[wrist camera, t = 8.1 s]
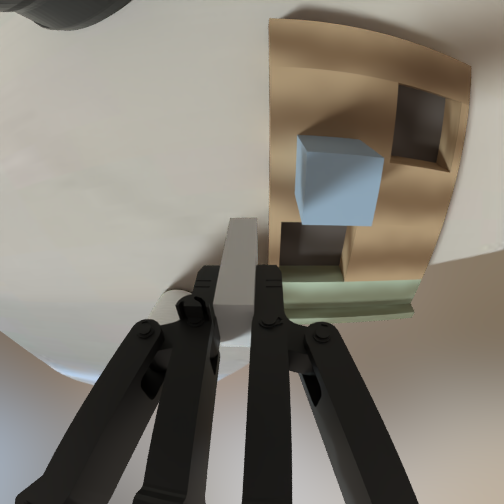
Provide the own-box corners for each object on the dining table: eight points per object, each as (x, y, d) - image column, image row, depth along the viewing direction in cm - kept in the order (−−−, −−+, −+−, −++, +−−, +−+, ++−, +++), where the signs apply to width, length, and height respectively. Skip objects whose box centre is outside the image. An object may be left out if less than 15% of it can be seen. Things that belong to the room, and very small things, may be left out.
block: (297, 134, 19) (307, 151, 15) (359, 139, 19) (384, 158, 15) (294, 194, 22) (302, 224, 18) (352, 196, 22) (371, 226, 18)
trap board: (268, 25, 16) (270, 13, 12) (453, 64, 15) (481, 68, 12) (267, 295, 33) (267, 324, 29) (400, 292, 32) (411, 317, 29)
